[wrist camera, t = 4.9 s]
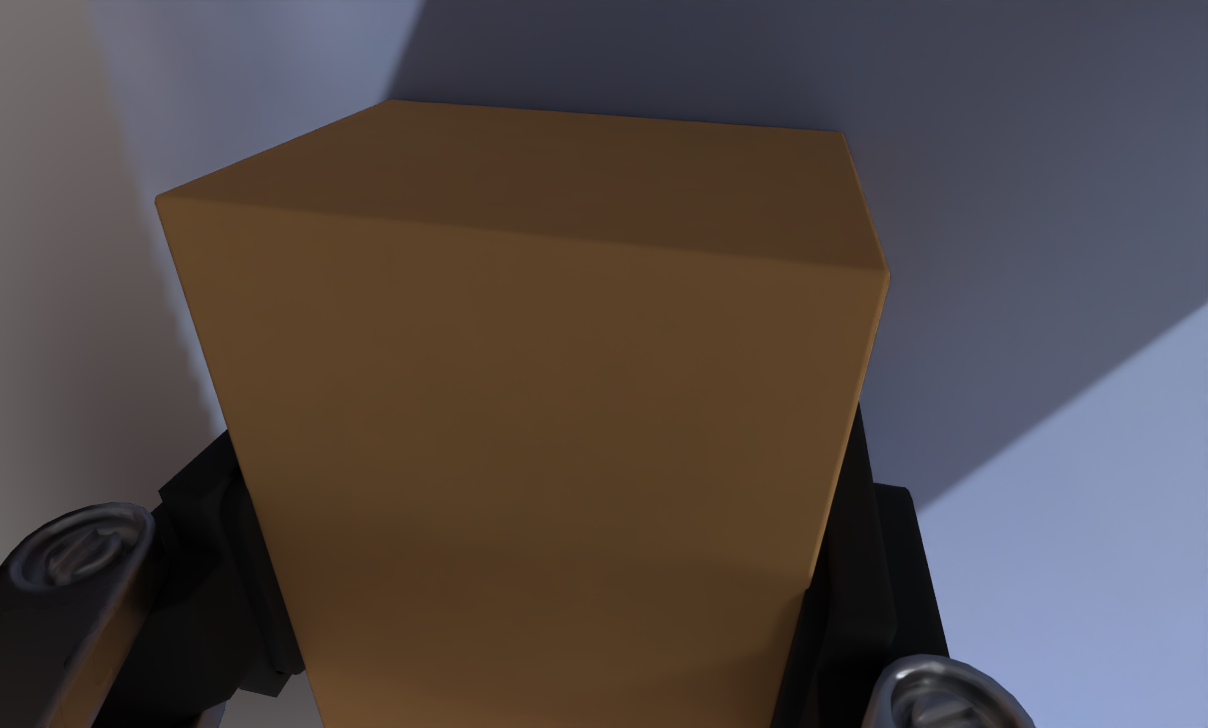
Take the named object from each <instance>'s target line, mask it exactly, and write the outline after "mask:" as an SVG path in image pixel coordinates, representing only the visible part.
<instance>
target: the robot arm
mask: <svg viewBox="0 0 1208 728" xmlns="http://www.w3.org/2000/svg"><path fill="white" fill-rule="evenodd" d="M158 492H159V494H160V496H161V499H162V501H163V502H162V503H161V504H160V505H159V506H158V507H157V508H155V509H154V510H153V511H152V512H151V513H149V512H148V511H147V510H146V509H145V508H144V507H141V506H137V505H134V504H131V503H116V502H110V503H104V504H98V505H91V506H87V507H84V508H81V509H78V510H75V511H72V512H69V513H66V514H64V515H62V516H60V517H58V518H56V519H54V520H52V521H50V522H48V523H46V524H44V525H43V526H41V527H40V528H38V529H37V530H36V531H34V532H32V533H31V534H30V535H28V536H27V537H25V538H24V540H23V541H21V542H20V544H19V545H18V546H17V547H16V548H15V549H14V550H13V551H12V552H11V553H10V554H9V555H8V557H7V558H6V559H5V561H4V562H3V563H2V564H1V566H0V728H219V725H220V722H221V719H222V716H223V713H224V711H225V705H226V701H227V700H229V699H230V698H231V697H232V695H233V694H234V693H235V691H236V690H237V688H238V687H239V688H240V689H242V690H246V691H250V692H255V693H259V694H264V695H268V696H272V697H277V696H278V695H279V693H280V692H281V690H282V688H283V687H284V685H285V684H286V682H287V681H288V679H289V678H290V676H291V675H292V674H294V675H297V674H300V673H301V672H303V671H304V670H305V669H306V668H305V664H304V661H303V658H302V655H301V652H300V649H299V646H298V643H297V640H296V636H295V633H294V630H293V627H292V624H291V621H290V618H289V615H288V612H287V609H286V605H285V602H284V599H283V596H282V593H281V590H280V587H279V584H278V581H277V577H276V574H275V571H274V568H273V565H272V562H271V559H270V556H269V553H268V550H267V546H266V543H265V540H264V537H263V534H262V531H261V528H260V525H259V522H258V518H257V515H256V512H255V509H254V506H253V503H252V500H251V497H250V494H249V490H248V489H247V487H246V484H245V481H244V478H243V475H242V472H241V469H240V466H239V463H238V459H237V456H236V453H235V450H234V447H233V444H232V441H231V438H230V435H229V432H228V429H227V430H226V431H225V432H224V433H222V434H221V435H220V436H219V437H218V438H217V439H216V440H215V441H213V442H212V443H211V444H210V445H209V446H208V447H207V448H206V449H205V450H203V451H202V452H201V453H200V454H199V455H198V456H197V457H196V458H194V459H193V460H192V461H191V462H190V463H189V464H188V465H187V466H186V467H184V468H183V469H182V470H181V471H180V472H179V473H178V474H176V475H175V476H174V477H173V478H172V479H171V480H170V481H169V482H167V483H166V484H165V485H164V486H163V487H162V488H161V489H160V490H158ZM770 728H1036V727H1035V725H1034V723H1033V720H1032V719H1031V717H1030V716H1029V715H1028V714H1027V712H1026V711H1025V710H1024V708H1023V707H1022V706H1021V705H1020V703H1019V702H1018V701H1017V700H1016V698H1015V697H1014V696H1013V695H1012V694H1010V693H1009V692H1008V691H1007V690H1006V689H1005V688H1003V687H1002V686H1001V685H1000V684H999V683H998V682H996V681H995V680H994V679H993V678H991V677H990V676H988V675H986V674H984V673H983V672H981V671H979V670H977V669H976V668H974V667H972V666H970V665H969V664H966V663H963V662H960V661H957V660H954V659H951V658H950V656H949V652H948V648H947V644H946V639H945V635H944V631H943V627H942V622H941V618H940V614H939V610H938V606H937V601H936V597H935V593H934V589H933V584H932V580H931V576H930V572H929V568H928V563H927V559H926V555H925V551H924V547H923V542H922V538H921V534H920V530H919V525H918V521H917V517H916V513H915V509H914V504H913V500H912V497H911V495H910V492H909V490H908V489H906V488H905V487H899V486H892V485H886V484H879V483H873V478H872V472H871V467H870V461H869V455H868V449H867V443H866V438H865V432H864V426H863V420H862V414H861V409H860V403H859V401H858V405H857V409H856V412H855V416H854V420H853V424H852V428H851V432H850V435H849V439H848V443H847V447H846V451H845V454H844V458H843V462H842V466H841V470H840V474H839V477H838V481H837V485H836V489H835V493H834V496H833V500H832V504H831V508H830V512H829V515H828V519H827V523H826V527H825V531H824V535H823V538H822V542H821V546H820V550H819V554H818V557H817V561H816V565H815V569H814V573H813V577H812V580H811V584H810V586H809V588H808V589H806V590H805V594H804V598H803V602H802V606H801V609H800V613H799V617H798V621H797V625H796V629H795V633H794V637H793V640H792V644H791V648H790V652H789V656H788V660H787V664H786V668H785V671H784V675H783V679H782V683H781V687H780V691H779V695H778V699H777V702H776V706H775V710H774V714H773V718H772V722H771V726H770Z"/></svg>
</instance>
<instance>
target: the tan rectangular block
mask: <svg viewBox="0 0 1208 728" xmlns="http://www.w3.org/2000/svg"><path fill="white" fill-rule="evenodd" d="M155 205H156V209H157V212H158V215H159V218H160V221H161V224H162V227H163V230H164V233H165V236H166V240H167V243H168V246H169V249H170V252H171V255H172V258H173V261H174V264H175V267H176V271H177V274H178V277H179V280H180V283H181V286H182V289H183V292H184V295H185V298H186V301H187V305H188V308H189V311H190V314H191V317H192V320H193V323H194V326H195V329H196V332H197V336H198V339H199V342H200V345H201V348H202V351H203V354H204V357H205V360H206V363H207V367H208V370H209V373H210V376H211V379H212V382H213V385H214V388H215V391H216V394H217V397H218V401H219V404H220V407H221V410H222V413H223V416H224V419H225V422H226V425H227V428H228V432H229V435H230V438H231V441H232V444H233V447H234V450H235V453H236V456H237V459H238V463H239V466H240V469H241V472H242V475H243V478H244V481H245V484H246V487H247V489H248V490H249V494H250V497H251V500H252V503H253V506H254V509H255V512H256V515H257V518H258V522H259V525H260V528H261V531H262V534H263V537H264V540H265V543H266V546H267V550H268V553H269V556H270V559H271V562H272V565H273V568H274V571H275V574H276V577H277V581H278V584H279V587H280V590H281V593H282V596H283V599H284V602H285V605H286V609H287V612H288V615H289V618H290V621H291V624H292V627H293V630H294V633H295V636H296V640H297V643H298V646H299V649H300V652H301V655H302V658H303V661H304V664H305V668H306V669H305V670H306V673H307V676H308V679H309V682H310V686H311V689H312V692H313V695H314V698H315V701H316V704H317V707H318V710H319V713H320V716H321V720H322V723H323V726H324V728H770V726H771V722H772V718H773V714H774V710H775V706H776V702H777V699H778V695H779V691H780V687H781V683H782V679H783V675H784V671H785V668H786V664H787V660H788V656H789V652H790V648H791V644H792V640H793V637H794V633H795V629H796V625H797V621H798V617H799V613H800V609H801V606H802V602H803V598H804V594H805V590H806V589H808V588H809V586H810V584H811V580H812V577H813V573H814V569H815V565H816V561H817V557H818V554H819V550H820V546H821V542H822V538H823V535H824V531H825V527H826V523H827V519H828V515H829V512H830V508H831V504H832V500H833V496H834V493H835V489H836V485H837V481H838V477H839V474H840V470H841V466H842V462H843V458H844V454H845V451H846V447H847V443H848V439H849V435H850V432H851V428H852V424H853V420H854V416H855V412H856V409H857V405H858V401H859V397H860V393H861V390H862V386H863V382H864V378H865V374H866V371H867V367H868V363H869V359H870V355H871V351H872V348H873V344H874V340H875V336H876V332H877V329H878V325H879V321H880V317H881V313H882V309H883V306H884V302H885V298H886V294H887V290H888V287H889V283H890V279H891V276H890V271H889V268H888V265H887V262H886V259H885V256H884V253H883V250H882V247H881V244H880V241H879V238H878V235H877V232H876V229H875V226H874V223H873V220H872V217H871V214H870V211H869V208H868V205H867V202H866V199H865V196H864V193H863V190H862V187H861V184H860V181H859V178H858V175H857V172H856V169H855V166H854V163H853V160H852V157H851V154H850V151H849V148H848V145H847V142H846V139H845V136H844V134H843V133H841V132H833V131H819V130H805V129H791V128H777V127H764V126H750V125H736V124H722V123H709V122H695V121H681V120H667V119H653V118H640V117H626V116H612V115H598V114H585V113H571V112H557V111H543V110H530V109H516V108H502V107H488V106H474V105H461V104H447V103H433V102H419V101H406V100H392V99H389V100H386V101H384V102H382V103H379V104H377V105H374V106H372V107H370V108H367V109H365V110H362V111H360V112H357V113H355V114H353V115H350V116H348V117H345V118H343V119H341V120H338V121H336V122H333V123H331V124H328V125H326V126H324V127H321V128H319V129H316V130H314V131H312V132H309V133H307V134H304V135H302V136H300V137H297V138H295V139H292V140H290V141H287V142H285V143H283V144H280V145H278V146H275V147H273V148H271V149H268V150H266V151H263V152H261V153H258V154H256V155H254V156H251V157H249V158H246V159H244V160H242V161H239V162H237V163H234V164H232V165H229V166H227V167H225V168H222V169H220V170H217V171H215V172H213V173H210V174H208V175H205V176H203V177H201V178H198V179H196V180H193V181H191V182H188V183H186V184H184V185H181V186H179V187H176V188H174V189H172V190H169V191H167V192H164V193H162V194H160V195H157V196H156V197H155Z"/></svg>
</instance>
